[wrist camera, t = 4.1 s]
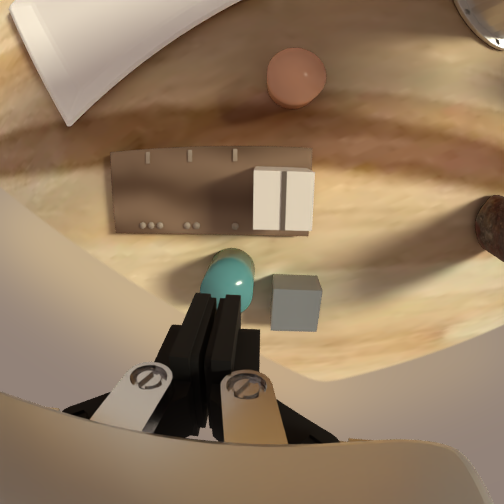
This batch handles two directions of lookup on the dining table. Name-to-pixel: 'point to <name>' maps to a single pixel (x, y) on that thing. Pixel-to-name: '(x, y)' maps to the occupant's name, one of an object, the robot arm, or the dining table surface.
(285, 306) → the slate box
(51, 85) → the plate
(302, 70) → the peach domed cylinder
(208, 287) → the teal rounded cylinder
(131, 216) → the rail
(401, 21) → the dining table surface
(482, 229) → the candle
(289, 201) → the slider
